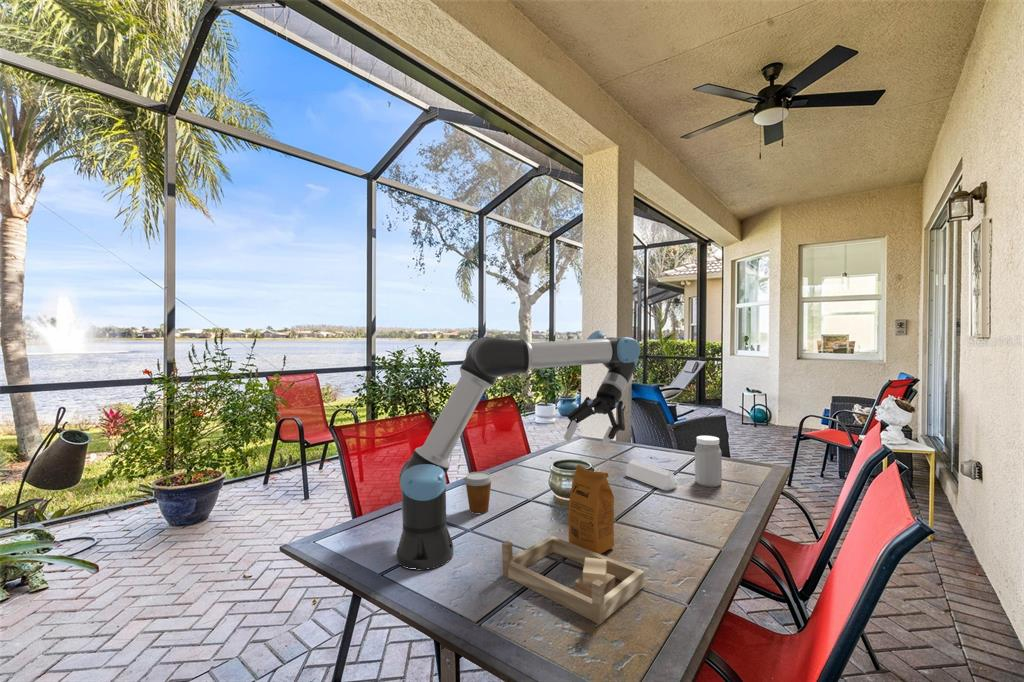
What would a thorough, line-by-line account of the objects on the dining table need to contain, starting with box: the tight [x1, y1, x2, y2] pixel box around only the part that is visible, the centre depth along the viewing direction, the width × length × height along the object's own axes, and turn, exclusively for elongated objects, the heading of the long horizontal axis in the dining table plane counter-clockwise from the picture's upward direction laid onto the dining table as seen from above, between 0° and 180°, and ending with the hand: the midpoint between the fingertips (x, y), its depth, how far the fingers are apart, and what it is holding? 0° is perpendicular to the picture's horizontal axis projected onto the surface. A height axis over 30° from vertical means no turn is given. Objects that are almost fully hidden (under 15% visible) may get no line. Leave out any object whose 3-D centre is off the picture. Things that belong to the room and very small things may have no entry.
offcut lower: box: [574, 573, 617, 598], centre depth 105 cm, size 8×6×3 cm
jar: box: [694, 435, 723, 488], centre depth 177 cm, size 10×10×18 cm
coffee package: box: [567, 464, 615, 555], centre depth 127 cm, size 10×12×22 cm
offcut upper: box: [582, 557, 607, 588], centre depth 105 cm, size 7×5×3 cm
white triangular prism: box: [625, 458, 678, 492], centre depth 180 cm, size 7×7×24 cm
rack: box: [501, 535, 646, 625], centre depth 109 cm, size 19×28×8 cm
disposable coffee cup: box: [464, 471, 493, 514], centre depth 154 cm, size 10×10×12 cm
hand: (584, 443), depth 138 cm, fingers open, 13 cm apart
